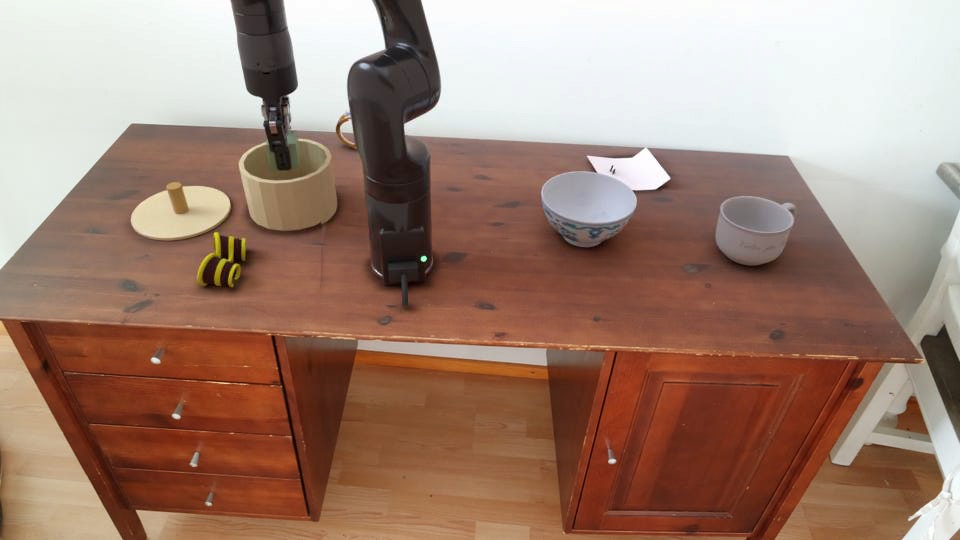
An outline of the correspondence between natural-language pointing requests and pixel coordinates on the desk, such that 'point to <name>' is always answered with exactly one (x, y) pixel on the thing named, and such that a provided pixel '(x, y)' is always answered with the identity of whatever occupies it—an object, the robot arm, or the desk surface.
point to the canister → (290, 188)
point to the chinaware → (587, 206)
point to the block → (293, 151)
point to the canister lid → (180, 212)
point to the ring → (342, 120)
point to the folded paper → (633, 170)
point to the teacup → (753, 229)
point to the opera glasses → (222, 261)
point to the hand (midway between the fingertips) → (285, 160)
